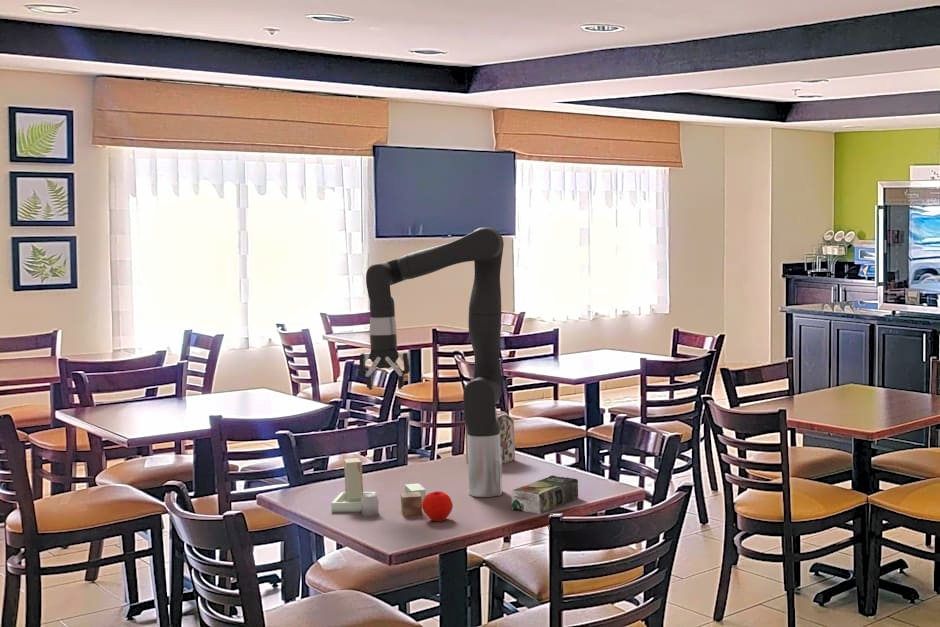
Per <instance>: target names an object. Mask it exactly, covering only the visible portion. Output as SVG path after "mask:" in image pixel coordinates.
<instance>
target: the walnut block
mask: <svg viewBox="0 0 940 627" xmlns="http://www.w3.org/2000/svg"><path fill="white" fill-rule="evenodd" d="M400 509H401V513H402V517H407V516H418V515H419V516H420V515H422V516H423V509H422V501H421V494H420V492H409V493H405V492H401V493H400Z"/></svg>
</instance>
